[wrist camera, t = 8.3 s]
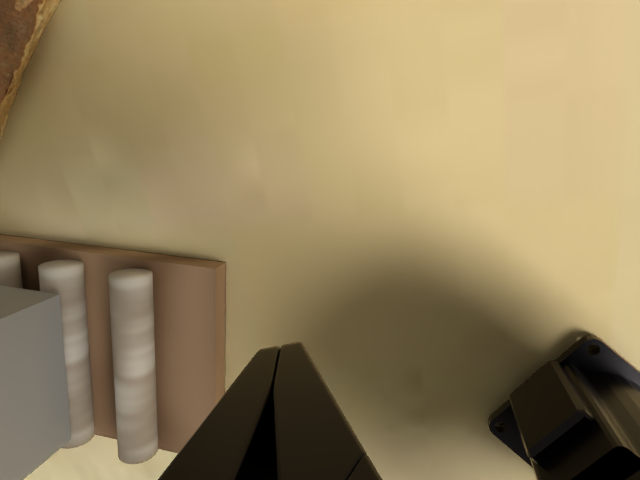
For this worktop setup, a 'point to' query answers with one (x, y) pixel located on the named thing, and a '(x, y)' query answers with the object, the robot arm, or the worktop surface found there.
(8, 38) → the shard
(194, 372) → the roller bed
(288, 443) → the robot arm
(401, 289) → the worktop surface
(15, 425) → the gray rectangular block
